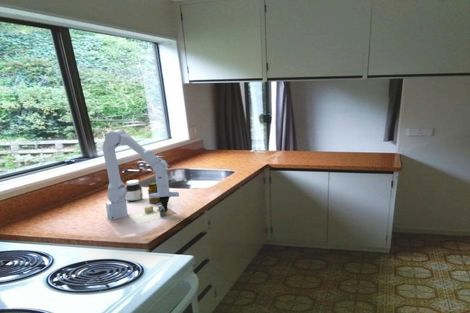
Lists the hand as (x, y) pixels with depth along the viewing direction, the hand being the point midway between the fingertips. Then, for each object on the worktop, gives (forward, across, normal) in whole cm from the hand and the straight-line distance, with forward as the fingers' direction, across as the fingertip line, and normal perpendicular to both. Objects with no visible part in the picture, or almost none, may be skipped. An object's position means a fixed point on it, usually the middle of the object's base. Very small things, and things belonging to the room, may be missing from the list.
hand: (166, 211), depth 160 cm
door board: (+2, +6, +1) cm, 7 cm away
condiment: (+2, +10, -20) cm, 22 cm away
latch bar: (+1, +3, -2) cm, 3 cm away
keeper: (+1, +10, -4) cm, 11 cm away
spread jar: (+2, +27, -28) cm, 39 cm away
